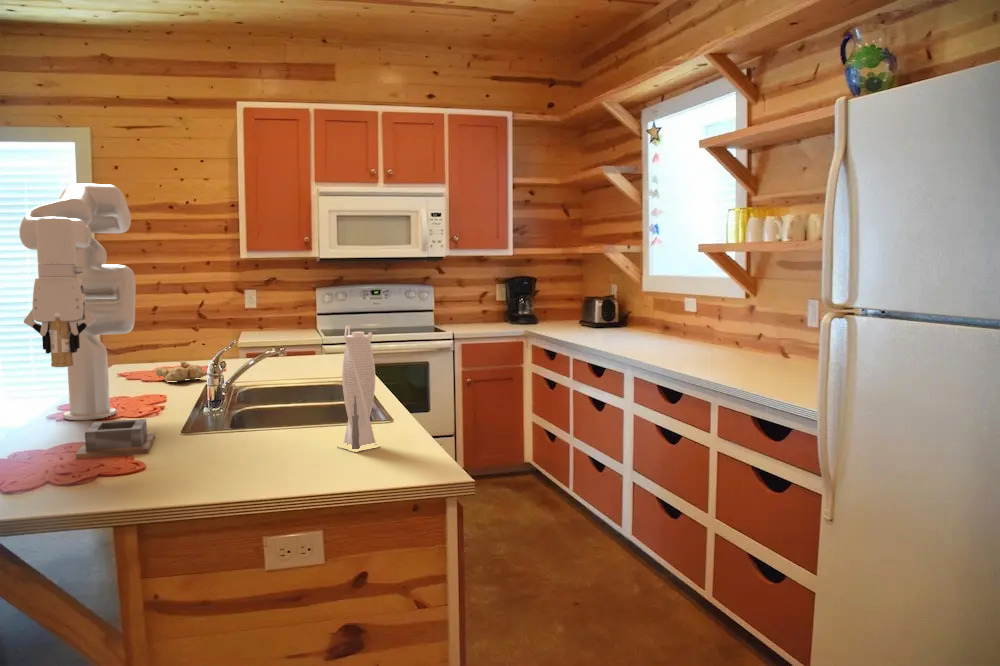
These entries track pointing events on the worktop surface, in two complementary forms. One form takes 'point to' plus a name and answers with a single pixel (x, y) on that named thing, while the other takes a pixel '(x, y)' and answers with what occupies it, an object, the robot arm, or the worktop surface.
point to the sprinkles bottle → (60, 343)
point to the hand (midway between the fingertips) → (61, 351)
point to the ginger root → (181, 372)
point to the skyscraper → (358, 387)
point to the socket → (116, 439)
